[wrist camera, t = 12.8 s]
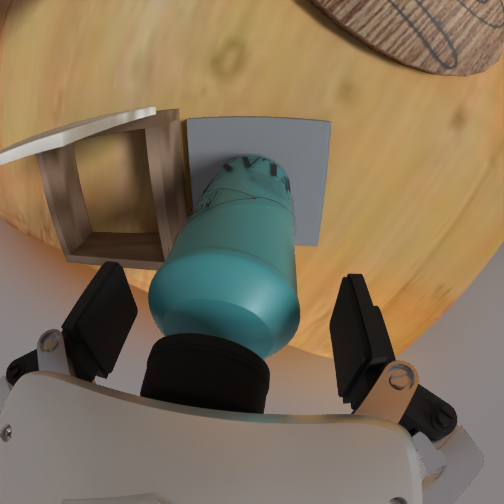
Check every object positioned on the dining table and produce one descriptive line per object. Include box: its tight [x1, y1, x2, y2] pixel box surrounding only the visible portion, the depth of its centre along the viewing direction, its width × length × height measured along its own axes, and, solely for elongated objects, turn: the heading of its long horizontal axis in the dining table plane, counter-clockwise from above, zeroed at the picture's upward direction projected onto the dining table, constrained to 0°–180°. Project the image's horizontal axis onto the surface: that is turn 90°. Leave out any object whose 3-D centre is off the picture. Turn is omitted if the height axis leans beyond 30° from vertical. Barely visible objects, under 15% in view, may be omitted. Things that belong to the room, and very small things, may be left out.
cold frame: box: [0, 106, 188, 270], centre depth 19 cm, size 15×14×15 cm
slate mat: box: [187, 116, 331, 246], centre depth 24 cm, size 12×12×1 cm
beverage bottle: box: [140, 153, 300, 414], centre depth 15 cm, size 6×7×20 cm
